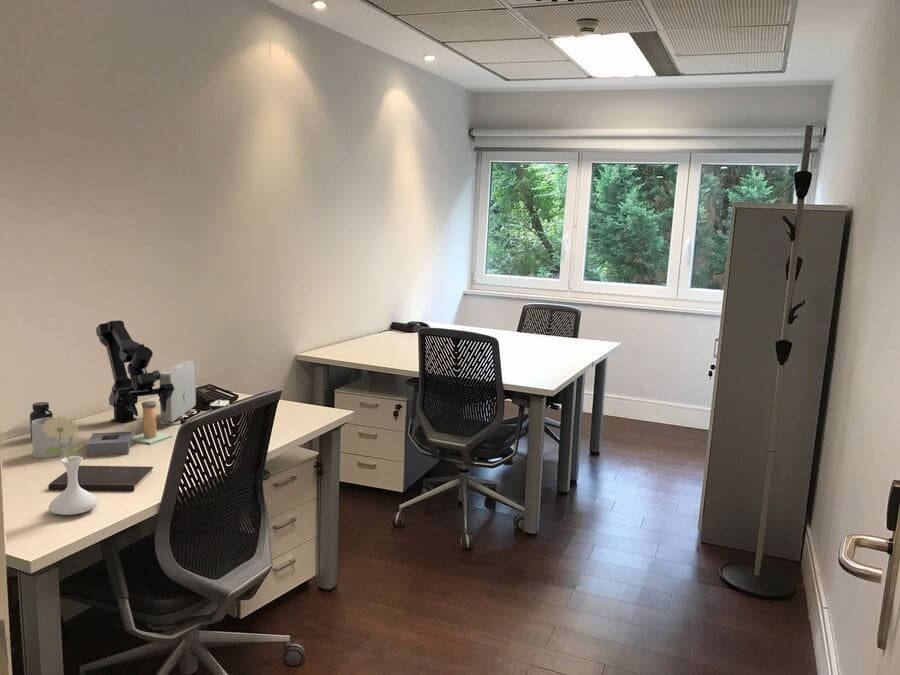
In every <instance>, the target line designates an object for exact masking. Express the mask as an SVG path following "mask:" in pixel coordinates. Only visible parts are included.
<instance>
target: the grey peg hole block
mask: <svg viewBox="0 0 900 675" xmlns="http://www.w3.org/2000/svg"><path fill="white" fill-rule="evenodd" d="M133 437H134V436H133V431H116V432H115V431H111V432H93V433H92V434H91V436H90V438H89V439H88V441H87V443H86V456H87V457H94V456H95V457H98V456H112V455H114V454H118V455H128V454H127V453H130V451H131V449H132V447H133V444H132V443H133V442H134V441H133ZM130 448H131V449H130ZM114 456H115V455H114Z"/></svg>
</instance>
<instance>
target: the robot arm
mask: <svg viewBox="0 0 900 675" xmlns="http://www.w3.org/2000/svg"><path fill="white" fill-rule="evenodd" d="M95 332H96V336H97V337H98V340H99V342H100V343H101V344H102V346H104V347H105V348H106V351H107V356H108V360H109V362H110V363H109V364H110V368H111V372H112V377H113V379H114V380H113V381H114V382H113V384H112V387H111V392H110V393H109V394H110V395H109V397H108V402H109V405H110V406H112V407H113V418H111V419H110V421H111V422H115V423H120V422H121V423H122V424H125V423H128V422H132V421H135V419H136V420H137V417H138V416H139V413H138V408H137V406H136V405H137V404H138V399H139V398H138V397H144V396H154V395H155V396H156V395H158V398H159V399H158V401H159V405H160V404H161V407H162V410H163V412H164V413H165V412H166V400H167V399H168V398H169V397H171V395H172V393H173V391H174V386H173V384H171V383H166V384H161V385H160V384H159V387H157V388H153V387H155V383H156V382H157V381H160V379H161V375H160V374H161V372H160V370H159V369H158V370H153V371H152V372H148V370H147V368H148V367H149V366H150V362H151V360H152V357H153V355H154V352H153V351H152V349H151V348H149V347H147V346H145V344H144V343H143V344H142V343H139V342H137V341H134V340H133V339H132V337H131V335H130V334H129V332H128V331H127V329H126V327H125V322H124V321H123V320H120V319H119V320H109V321H107V322H105V323H99V324H98V326H97V327H96V329H95ZM125 363H128V364H127V367H126V366H125ZM126 368H127V369H126ZM128 374H129V376H128ZM121 423H120V424H121Z"/></svg>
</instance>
